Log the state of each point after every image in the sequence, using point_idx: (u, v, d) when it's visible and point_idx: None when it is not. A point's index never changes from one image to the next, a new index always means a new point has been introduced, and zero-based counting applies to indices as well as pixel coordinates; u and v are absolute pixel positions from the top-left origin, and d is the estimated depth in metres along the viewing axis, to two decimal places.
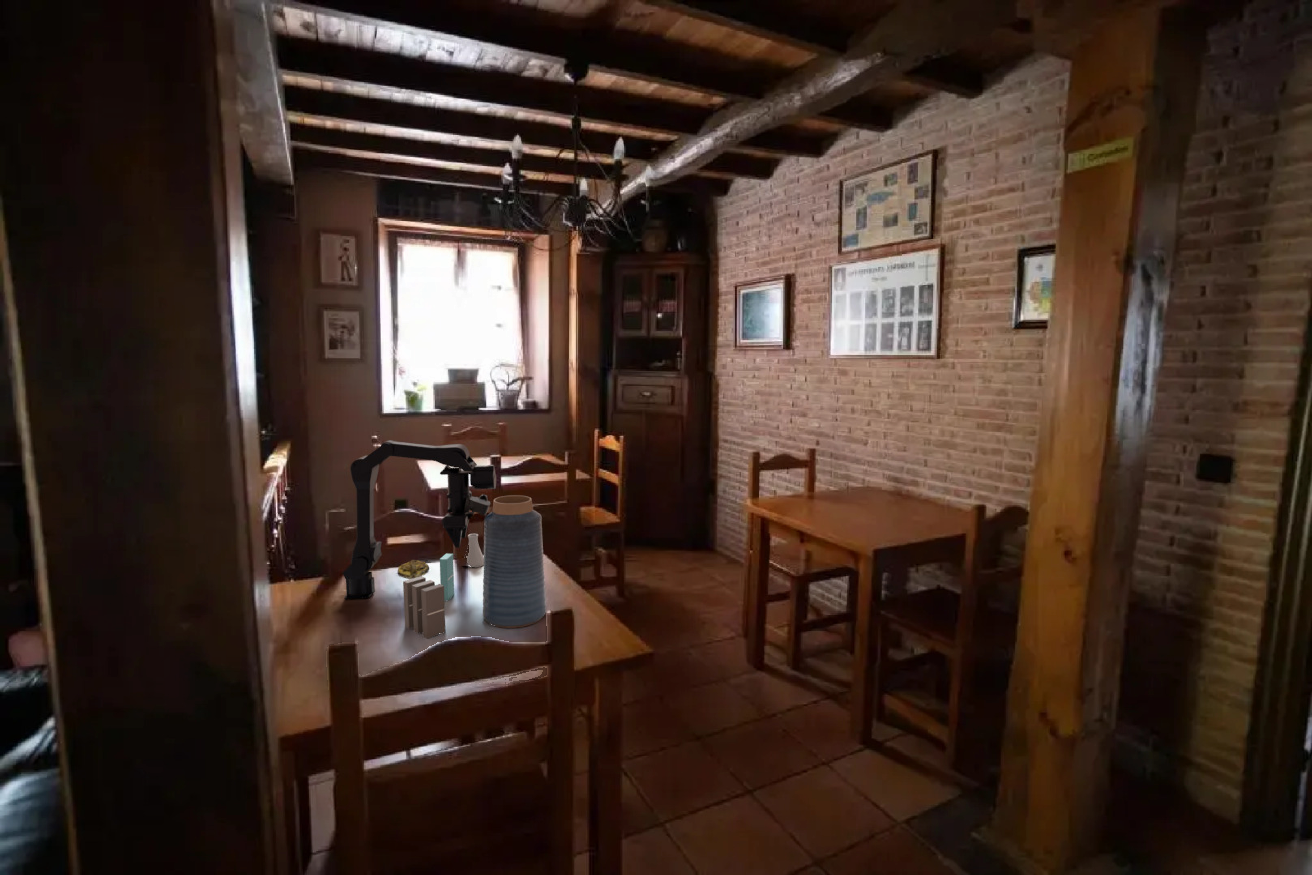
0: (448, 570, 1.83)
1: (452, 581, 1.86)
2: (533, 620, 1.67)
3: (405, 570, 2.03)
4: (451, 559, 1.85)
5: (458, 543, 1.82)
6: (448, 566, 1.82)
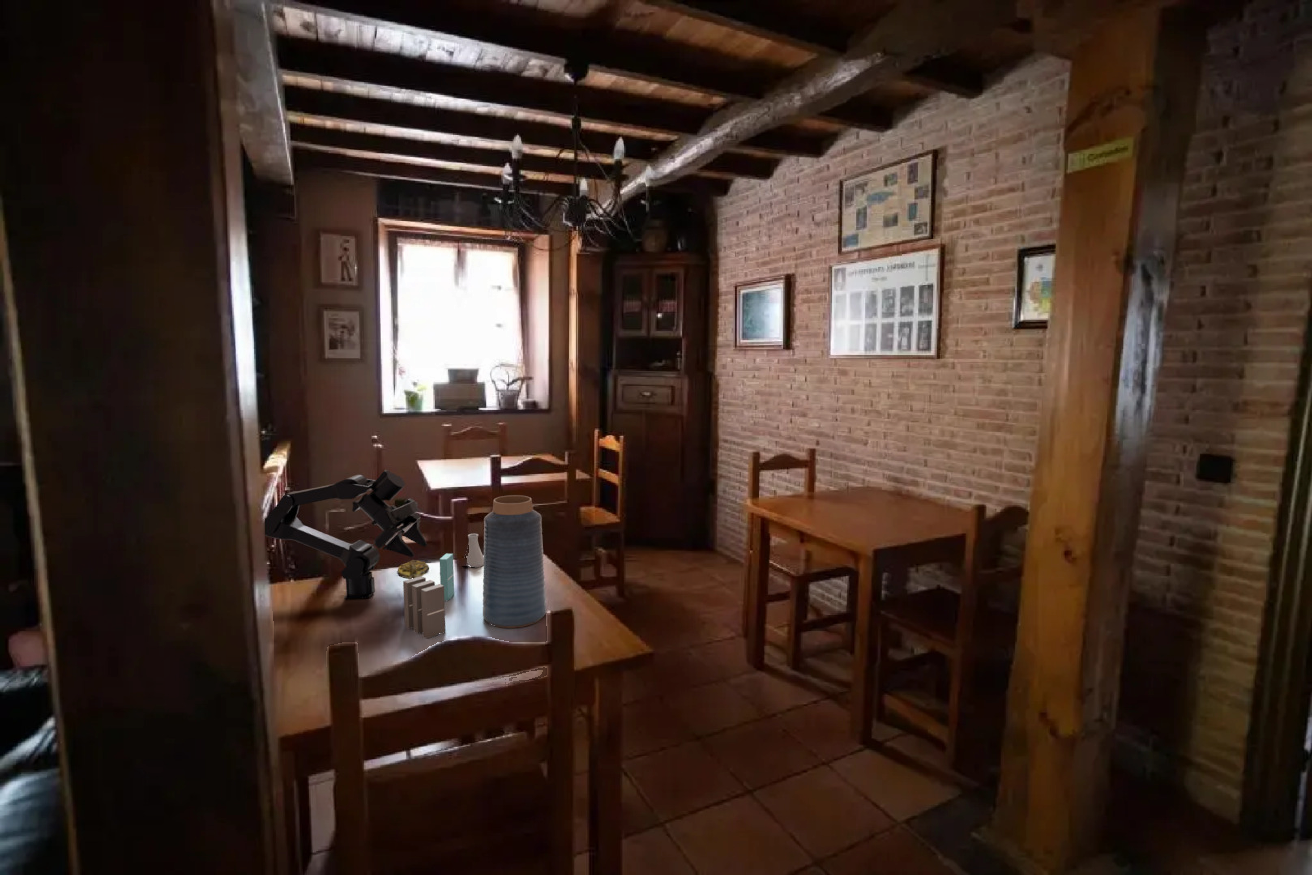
0: (448, 570, 1.83)
1: (452, 581, 1.86)
2: (533, 620, 1.67)
3: (405, 570, 2.03)
4: (451, 559, 1.85)
5: (409, 552, 1.78)
6: (448, 566, 1.82)
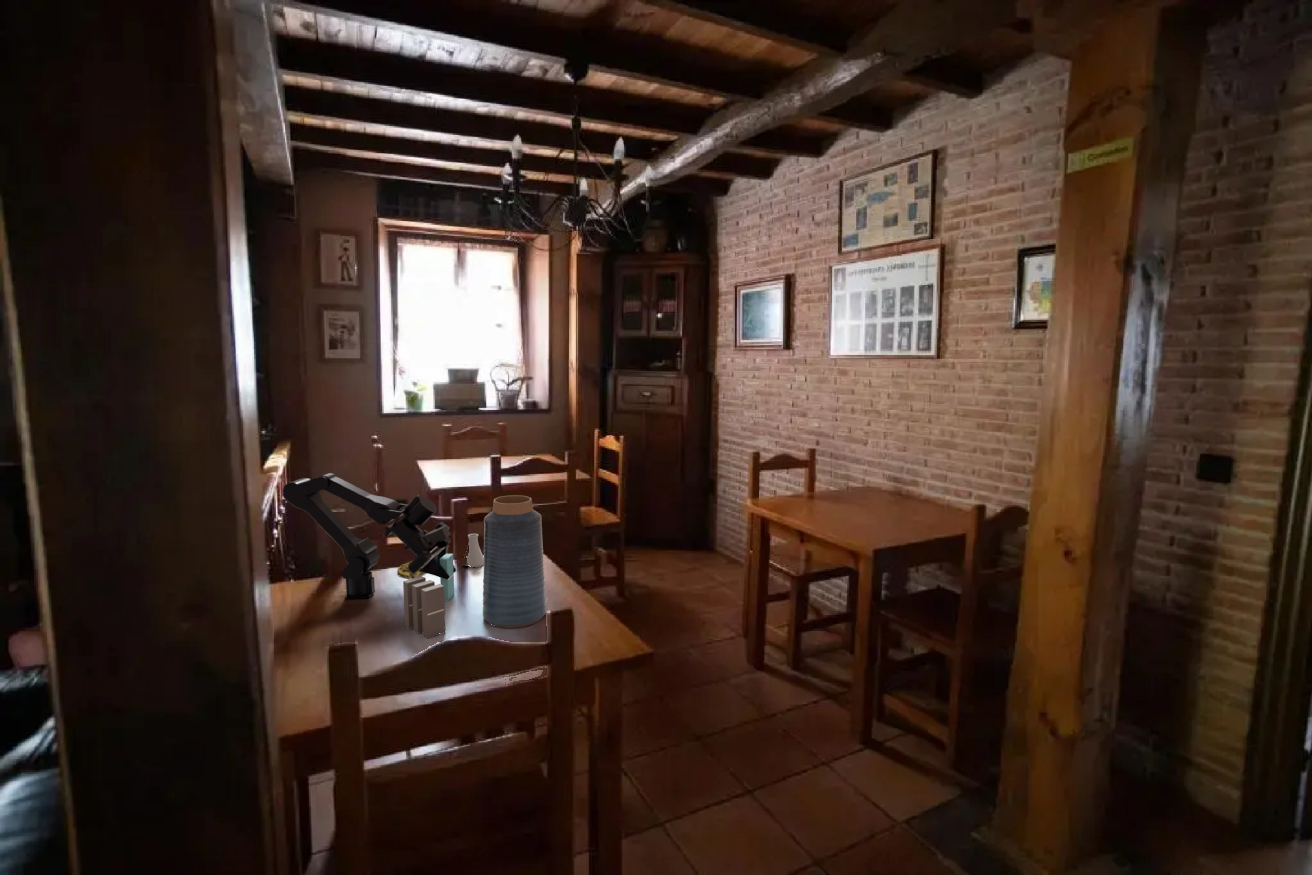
0: (448, 570, 1.83)
1: (452, 581, 1.86)
2: (533, 620, 1.67)
3: (405, 570, 2.03)
4: (451, 559, 1.85)
5: (445, 574, 1.81)
6: (448, 566, 1.82)
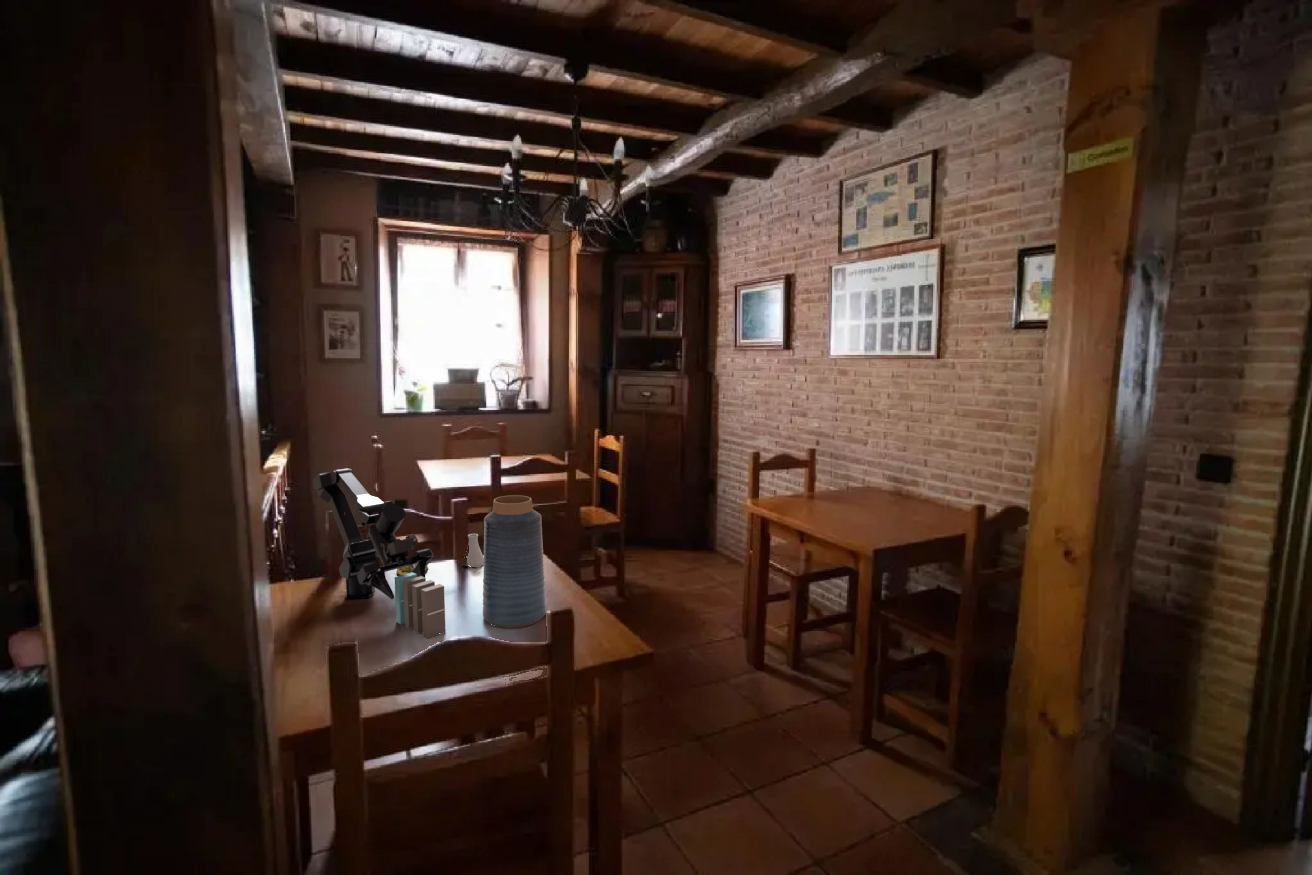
0: (403, 591, 1.67)
1: None
2: (533, 620, 1.67)
3: (404, 571, 2.02)
4: None
5: (389, 593, 1.64)
6: (402, 587, 1.66)
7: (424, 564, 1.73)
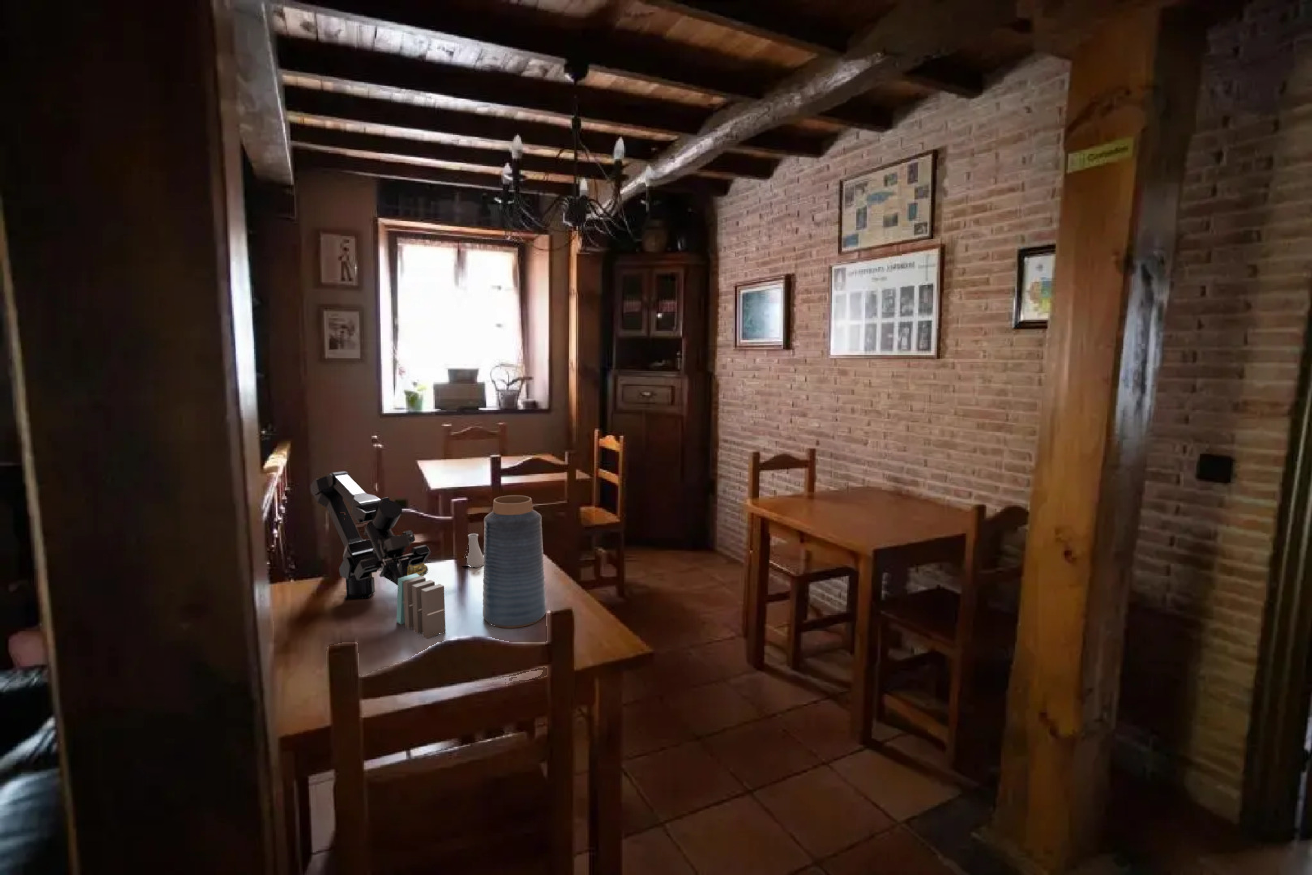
0: None
1: None
2: (533, 620, 1.67)
3: None
4: None
5: None
6: None
7: (406, 564, 1.71)
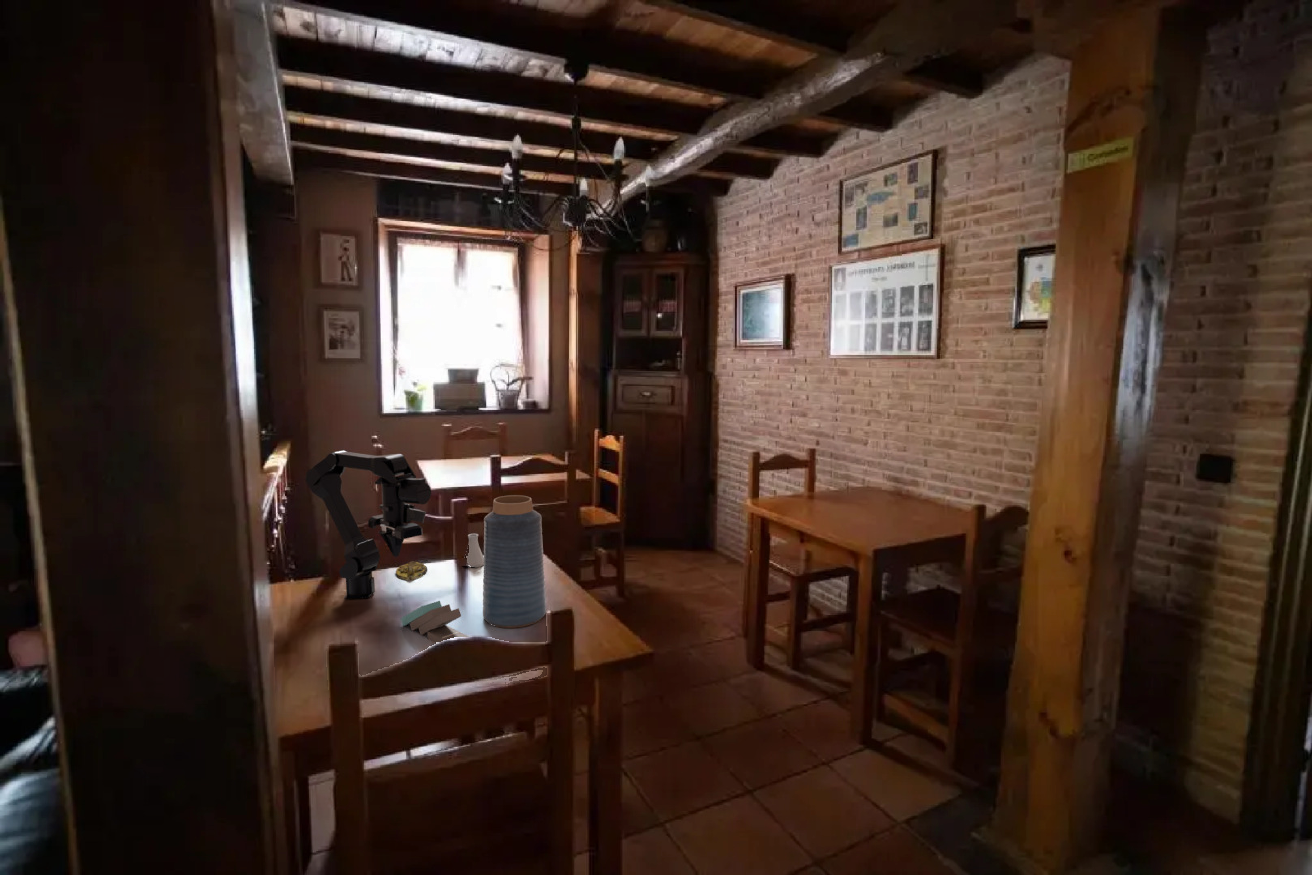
0: None
1: None
2: (533, 620, 1.67)
3: (402, 572, 2.01)
4: None
5: (398, 552, 1.79)
6: None
7: None
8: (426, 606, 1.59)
